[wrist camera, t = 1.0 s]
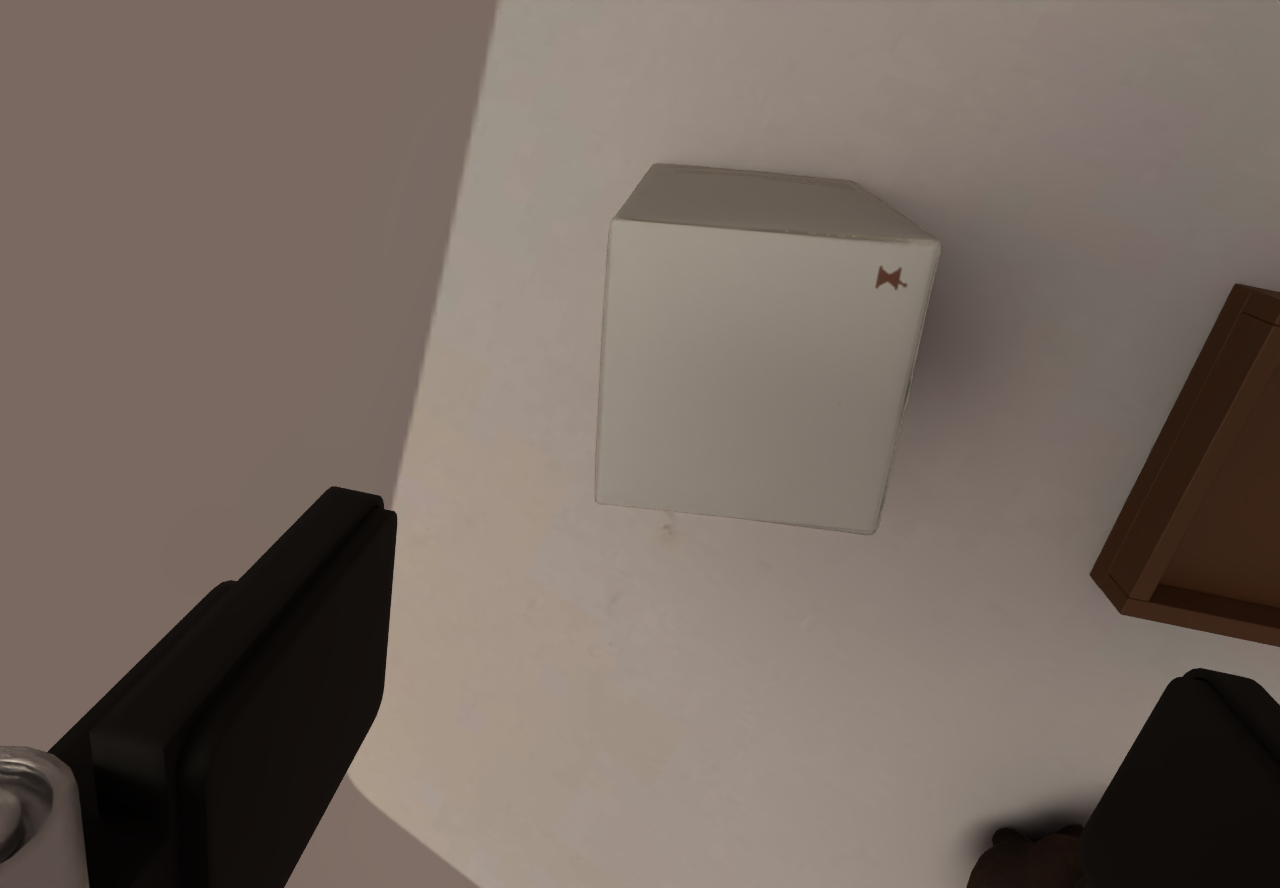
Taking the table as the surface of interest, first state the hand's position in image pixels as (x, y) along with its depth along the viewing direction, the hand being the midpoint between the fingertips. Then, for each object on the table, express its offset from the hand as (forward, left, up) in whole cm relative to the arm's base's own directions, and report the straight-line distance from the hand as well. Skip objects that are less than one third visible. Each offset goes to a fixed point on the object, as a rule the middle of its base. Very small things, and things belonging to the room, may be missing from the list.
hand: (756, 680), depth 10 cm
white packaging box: (0, 0, -23) cm, 23 cm away
